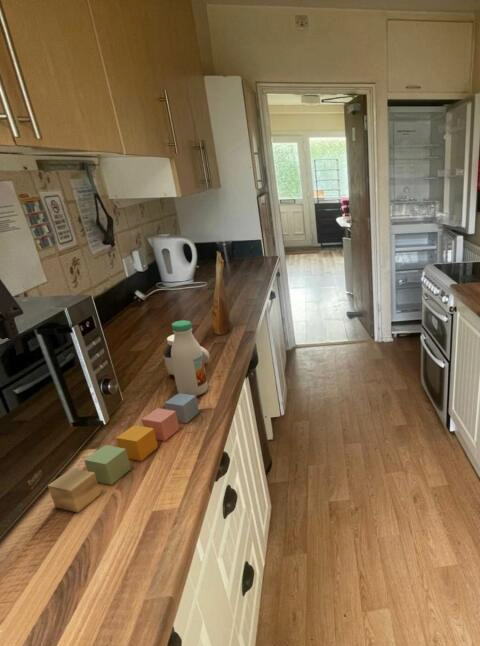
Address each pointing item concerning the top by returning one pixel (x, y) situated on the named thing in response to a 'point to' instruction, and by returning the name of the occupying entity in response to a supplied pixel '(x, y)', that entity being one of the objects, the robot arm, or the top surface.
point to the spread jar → (168, 355)
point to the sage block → (108, 464)
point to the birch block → (74, 490)
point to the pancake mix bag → (220, 301)
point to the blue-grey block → (183, 406)
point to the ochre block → (138, 442)
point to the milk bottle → (187, 360)
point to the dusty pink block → (162, 423)
